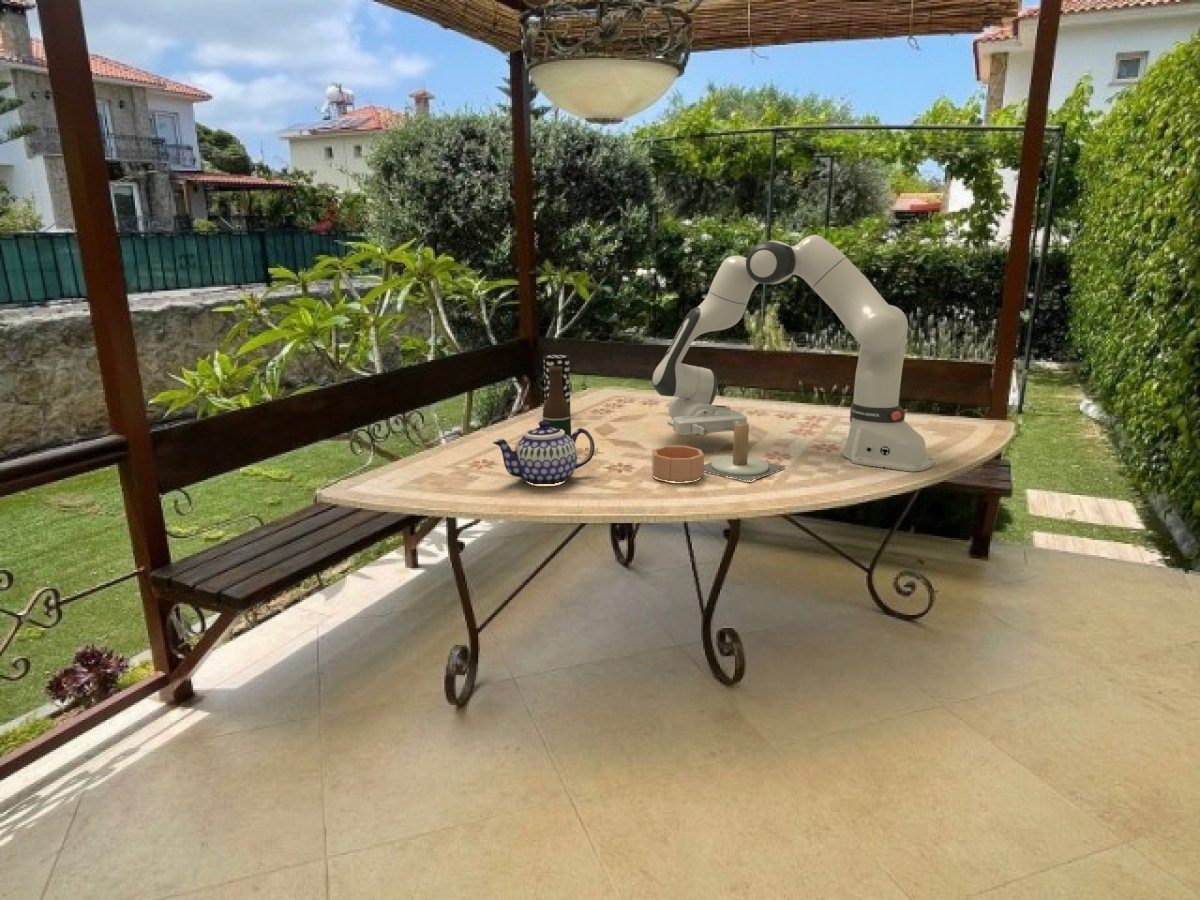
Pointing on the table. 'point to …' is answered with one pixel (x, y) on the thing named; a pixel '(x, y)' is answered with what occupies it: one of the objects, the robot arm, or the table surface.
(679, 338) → the robot arm
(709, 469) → the mat
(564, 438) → the teapot
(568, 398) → the spotted tube
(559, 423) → the beer bottle
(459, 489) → the table surface
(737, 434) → the lid
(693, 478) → the bowl
